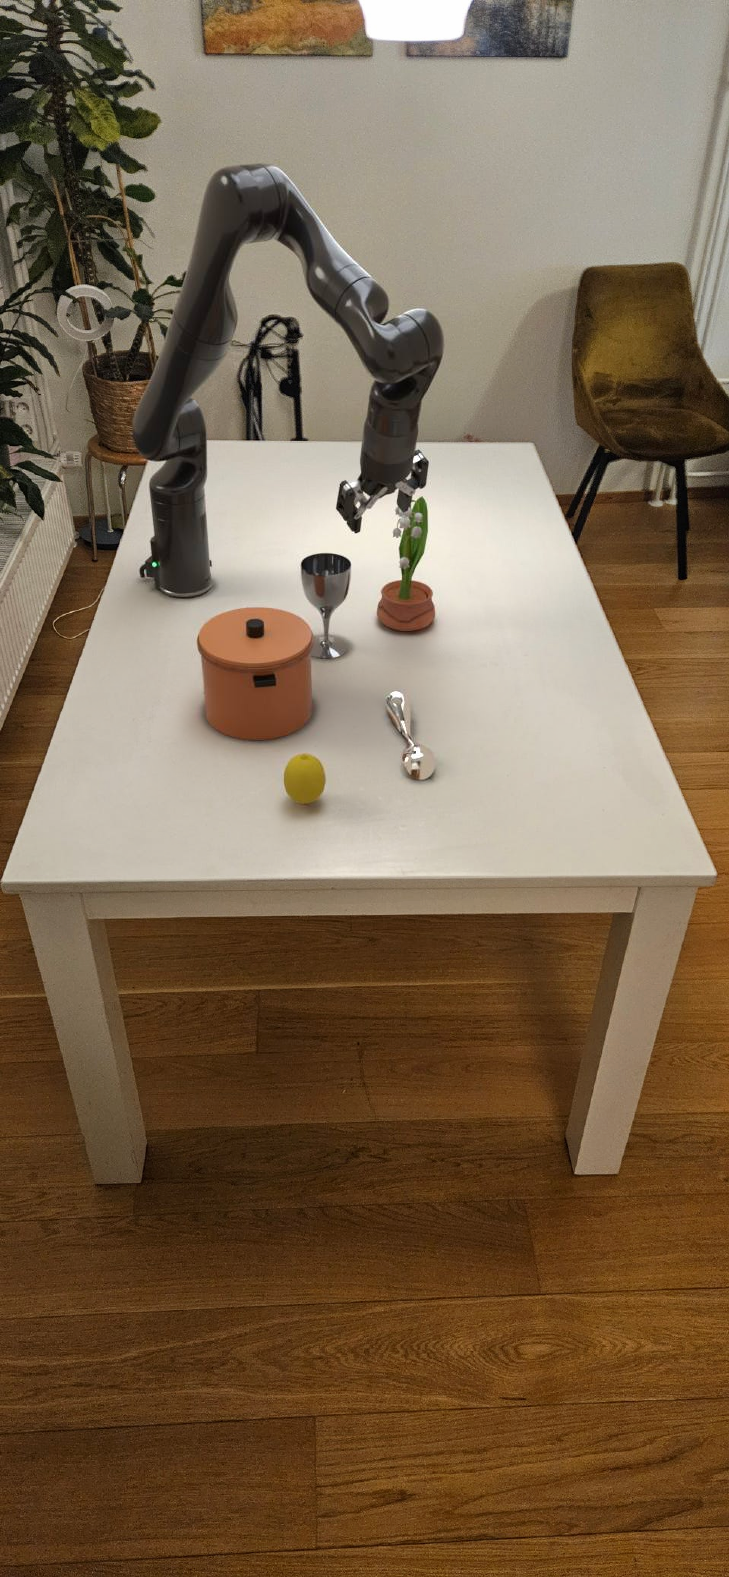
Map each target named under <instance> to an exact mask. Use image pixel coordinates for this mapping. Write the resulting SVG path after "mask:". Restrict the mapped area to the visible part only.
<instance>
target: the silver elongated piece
mask: <svg viewBox="0 0 729 1577" xmlns="http://www.w3.org/2000/svg"><path fill="white" fill-rule="evenodd" d="M394 699H399V700H400V701H401V702H400V709H401V712H402V716H403V720H401V718H400V714H399V711H398V710H399V709H398V706H397V704H396V703H394V702H393V700H394ZM385 704H386V709H387V711H388V714H389V716H390V718H391V721H392V723H393V724H394V726H395V727H396V729H397V730H398V731H399V732H400V734H402V735H403V736H404V737H405V738H406V740H407V746H406V747H405V749H404V750H403V751H402V753H401V760H402V763H403V765H404V768H405V769H406V771H407V773H408V774H409V775H410V776H411V777H412V778H414V779H416V780H419V781H421V780H422V781H423V780H426V779H428V778H429V777H431V776H432V774H433V773H434V771H435V769H436V765H437V758H436V756H435V753H434V752H433V751H432V750H431V749H429V748H428V747H426V746H425V745H422V744H420V743H419V742H418V741H417V740H415V739H414V737H413V735H412V731H411V718H412V717H411V705H410V702H409V699H408V697H407V696H406V694H404V693H403V692H399V691H393V692H391V693H390V694H388V695H387V697H386V700H385Z"/></svg>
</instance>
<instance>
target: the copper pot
mask: <svg viewBox="0 0 729 1577" xmlns="http://www.w3.org/2000/svg"><path fill="white" fill-rule="evenodd" d="M314 638H315V636H314V633H313V630H312V629H311V627H310V625H309V624H308V622H307V621H305V619H304V618H302V617H300V616H299V615H297V614H294V613H292V612H291V611H287V610H283V609H279V608H272V607H263V606H261V607H260V606H259V607H258V606H257V607H256V606H255V607H253V606H252V607H243V608H235V609H232V610H228V611H225V612H222V613H220V614H217V615H215V616H213V617H212V618H211V619H208V620H207V621H206V622H204V624H203V625H202V627H201V628H200V630H199V632H198V635H197V638H196V645H197V646H196V647H197V650H198V653H199V654H200V659H201V672H202V673H201V674H202V683H203V684H202V685H203V697H204V708H205V709H204V711H205V717H206V720H207V721H208V723H209V725H211V727H212V728H214V729H215V730H216V731H218V732H220V734H223V735H225V736H228V737H231V738H236V739H239V740H247V741H267V740H274V739H277V738H282V737H286V736H288V735H290V734H292V733H295V732H296V731H298V730H300V729H301V728H303V727H304V726H305V725H306V724H307V723H308V722H309V720H310V718H311V716H312V712H313V688H312V687H313V686H312V685H313V684H312V682H313V680H312V678H313V676H312V656H311V651H312V649H313V646H314Z"/></svg>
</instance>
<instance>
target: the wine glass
mask: <svg viewBox="0 0 729 1577" xmlns="http://www.w3.org/2000/svg"><path fill="white" fill-rule="evenodd" d="M300 580H301V585H302V590H303V594H304V596H305V598H306V600H307V601H308V603H309V604H310V605H311V606H312V607H314V609H315V610H316V611H317V612H318V613H319V615H320V617H321V621H322V627H323V636H318V637H314V646H313V649H312V651H311V657H314V658H318V659H324V660H325V659H335V658H339V657H341V656H344V655H345V654H346V653H347V652H348V649H349V646H348V644H347V643H346V641H344V640H343V639H341V638H338V637H335V636H329V635H330V634H329V631H330V622H331V618H332V615H333V613H334V612H335V611H336V610H337V609H338V608H339V607H340V606H341V605H342V604H343V603H344V602H345V601H346V599H347V596H348V594H349V591H350V588H351V587H350V586H351V580H352V562H351V560H350V559H349V558H348V557H346V556H344V555H341V554H337V553H331V552H319V553H314V554H310V555H308V556H306V557H304V558H303V559H302V560H301V562H300Z"/></svg>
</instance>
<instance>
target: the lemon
mask: <svg viewBox="0 0 729 1577" xmlns="http://www.w3.org/2000/svg"><path fill="white" fill-rule="evenodd" d="M283 786H284V789H285V791H286V794H287V795H288V797H289V798H290V799H291V800H293V802H296V803H298V804H303V805H306V804H311V803H314V802H315V801H317V800H318V799H319V798H320V797H321V796H322V794H323V793H324V790H325V787H326V773H325V769H324V766H323V764H322V762H321V760H320V759H319V758H318V757H316V756H315V755H314V754H310V753H299V754H296V755H294V756H292V757H291V758H290V760H289V761H287V764H286V766H285V769H284V773H283Z"/></svg>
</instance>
